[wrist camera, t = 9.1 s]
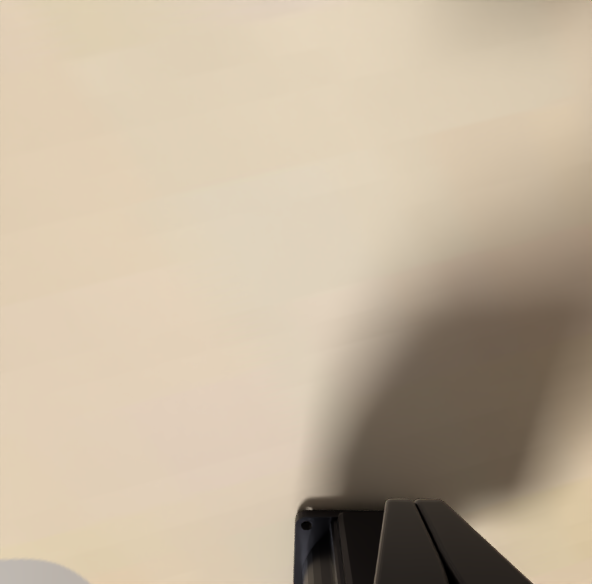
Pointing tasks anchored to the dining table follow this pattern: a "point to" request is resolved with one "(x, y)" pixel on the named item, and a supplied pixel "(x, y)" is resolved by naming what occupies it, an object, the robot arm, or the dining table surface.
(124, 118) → the dining table surface
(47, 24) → the dining table surface
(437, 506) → the robot arm
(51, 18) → the dining table surface
